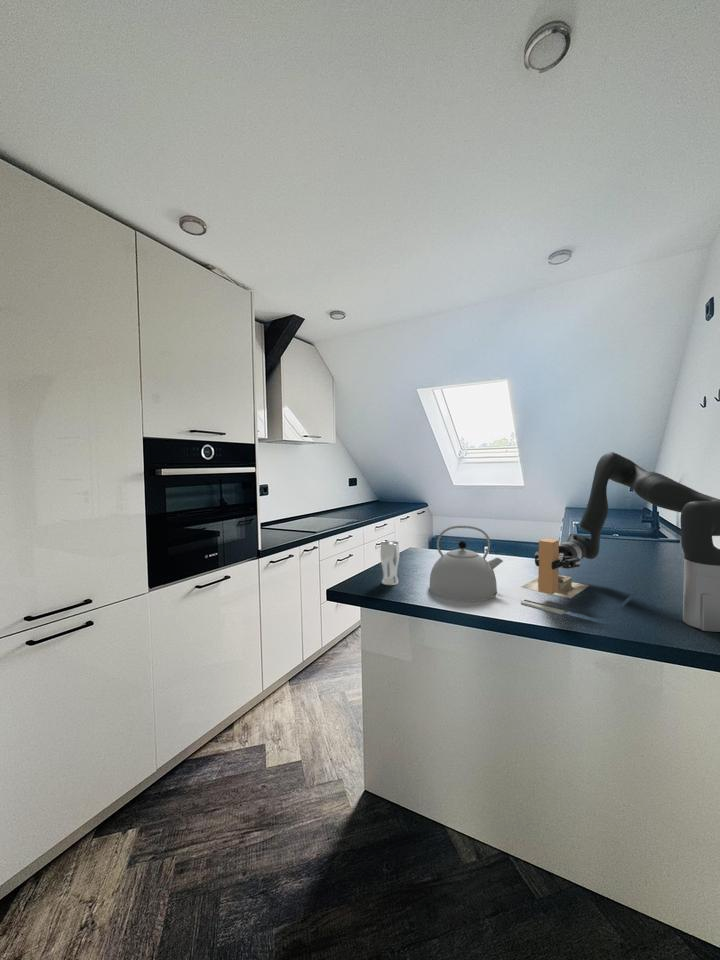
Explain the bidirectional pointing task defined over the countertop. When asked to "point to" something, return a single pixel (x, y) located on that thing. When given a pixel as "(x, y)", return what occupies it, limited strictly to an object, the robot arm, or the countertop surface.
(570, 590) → the wooden socket base
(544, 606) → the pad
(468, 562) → the kettle
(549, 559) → the tan rectangular block
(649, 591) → the countertop surface
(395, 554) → the beer glass
